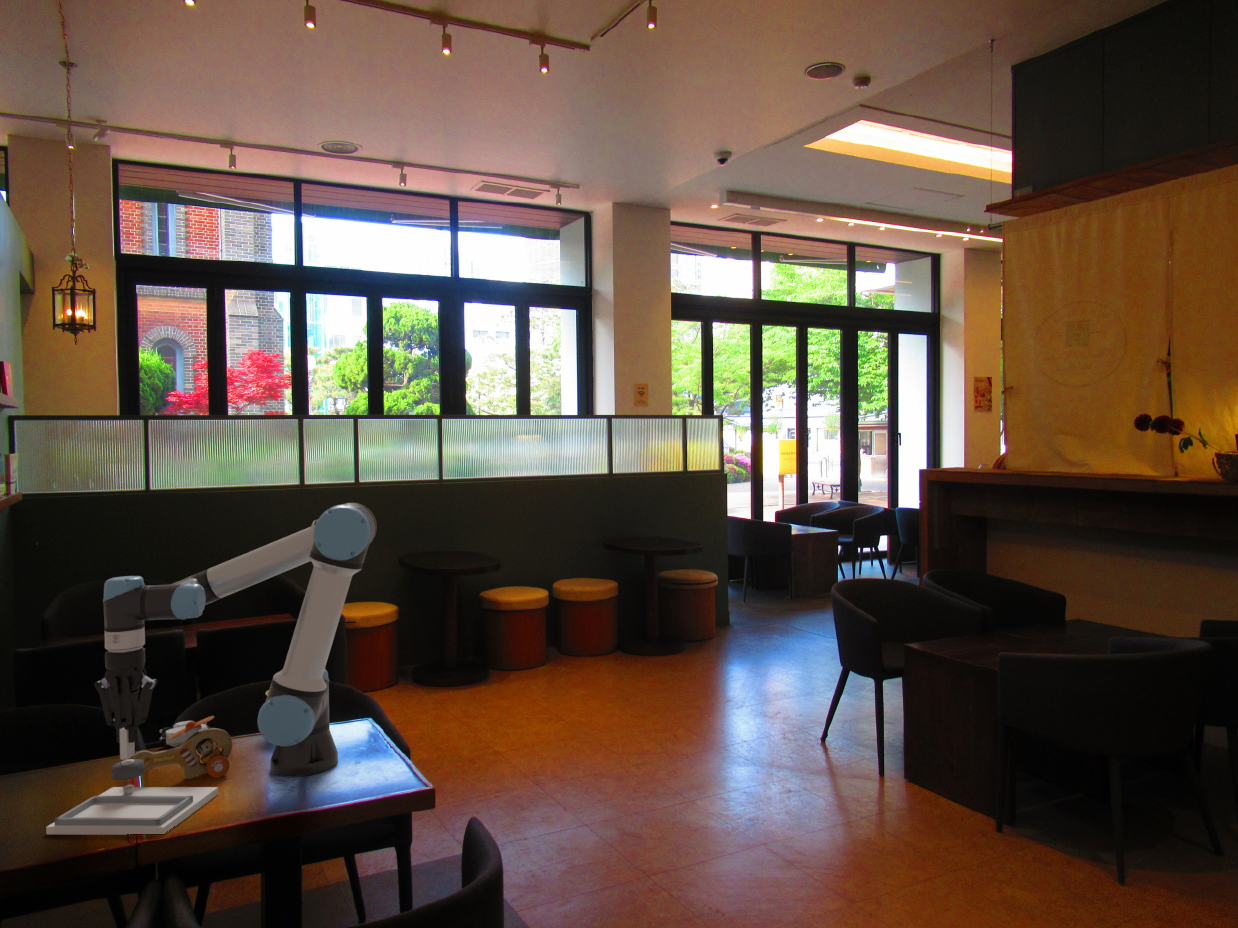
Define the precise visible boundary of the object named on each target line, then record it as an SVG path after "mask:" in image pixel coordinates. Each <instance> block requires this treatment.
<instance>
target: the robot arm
mask: <svg viewBox="0 0 1238 928" xmlns="http://www.w3.org/2000/svg"><path fill="white" fill-rule="evenodd" d="M377 529H378V526H377V520H376V518H375V515H374V513H373V512H372V510H370V508H368V507H366V506H365V505H363V504H360V503H358V502H345V503H342V504H338V505H337V504H336V505H333V506H331V507H329V508H328V509H326V510H325V511H324V512H323V513H322V514H321V515H320V516H319V518H318V519H315V520H313V522H312V524H311V526H309V527H307V528H305V529H301V530H299V531H297V532H295V533H292V534H290V535H287V536H285V537H282V538H280V539H278V540H274V541H272V542H270V543H268V544H266V545H263V546H260V547H258V548H256V549H253V550H250V551H248V552H247V553H243V554H242V555H238V556H236V557H234V558H231V559H230V560H226V561H224V562H221V563H220V564H217V565H214V566H212V567H209V568H208V569H205V570H202V571H200V572H198V573H196V574H193V575H190V576H187V577H185V578H183V579H181V580H179V581H175V582H173V583H171V584H157V585H147V584H145V582H144V581H145V580H144V578H143V577H142V576H140V575H127V576H126V575H125V576H116V577H115V576H114V577H112V578H109V579H107V580H106V581H105V582H104V584H103V585H104V586H103V599H102V603H103V617H104V649H106V650H107V651H106V652H105V653H104V667H105V669H106V671H105V674H104V677H103V678H102V679H101V680H97V681H96V682H94V683H93V686H94V688H95V689H96V690H97V693H98V694H99V699H100V703H101V707H102V710H103V711H102V712H103V714H104V719H105V721H106V725H107V726H108V727H110V726H112V727H115V730H116V731H115V734H116V737H115V738H116V743H117V744H119V760H129V759H130V758H132V757H133V756H134V755H135V754H136V753H135V750H136V749H135V742H137V741H138V737H139V736H138V729H139V728H138V727H139V726H140V725H141V724H142V725H143V724H144V723H146V722H147V720H148V715H149V712H150V706H151V702H152V697H153V691H154V689H155V687H156V685H157V684H158V679H157V678H150V677H149V676H147V671H146V669H145V664H146V648H144V647H143V646H144V645H145V644H146V634H145V633H146V631H145V621H155V620H156V621H157V620H187V619H193V618H194V619H195V618H199V617H200V616H202V615H203V611H205V607H206V605H209V604H211V603H214V602H216V601H218V600H220V599H223V598H225V597H227V596H229V595H232V594H235V593H237V592H239V591H242V590H245V589H247V588H250V587H251V586H254V585H256V584H259V583H261V582H263V581H266V580H268V579H270V578H273V577H275V576H278V575H281V574H282V573H285V572H287V571H290V570H292V569H294V568H297V567H299V566H301V565H304V564H306V563H309V562H311V563H312V566H313V568H312V572H311V575H310V578H309V581H308V584H307V589H306V591H305V594H304V595H305V596H304V598H303V601H302V605H301V608H300V611H299V615H298V618H297V621H296V625H295V628H294V630H293V635H292V638H291V642H290V645H289V649H288V652H287V654H286V658H285V661H284V665H283V668H282V669H281V670H280V671H277V672H276V673H275V674H274V675H273V677H272V680H271V683H270V686H269V689H268V690H269V692H268V696H266V699H265V702H264V703H263V704H262V705H261V706H260V708H259V712H258V714H257V715H258V716H257V728H258V731H259V733H260V734H261V736H262V737H263V738H264V739H265V740H266V741H267V742H269V743H270V744H271V745H272V744H273V745H274V747H273V751H272V754H271V758H270V761H269V764H270V765H269V766H270V768H269V769H270V772H271V773H272V774H273V775H275V776H279V777H284V778H285V777H287V778H294V777H295V778H296V777H305V776H310V775H316V774H319V773H322V772H325V771H328V770H330V769H331V768H332V769H333V767H335V766H336V765H337V764H338V762H339V753H338V749H337V747H336V743H335V741H334V738H333V736H332V733H331V730H330V700H329V699H330V696H329V695H330V692H329V691H330V689H329V683H330V679H329V672H328V671H327V669H326V665H327V662H328V659H329V656H330V653H331V649H332V646H333V642H334V640H335V636H336V632H337V628H338V626H339V623H340V619H341V615H342V612H343V609H344V605H345V602H346V598H347V595H348V592H349V588H350V585H351V581H352V579H353V576H354V575H355V574H357V573H359V572H360V571H362V569H363V566H364V562H365V559H366V556H367V552H368V549H369V546H370V544H371V543H372V542H373V540H374V538H375V537H376V535H377V534H376V533H377ZM140 686H141V688H142V689H141V691H140ZM139 694H140V695H139Z"/></svg>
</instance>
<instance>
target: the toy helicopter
mask: <svg viewBox="0 0 1238 928" xmlns="http://www.w3.org/2000/svg"><path fill="white" fill-rule="evenodd" d="M214 718H215V716H214V715H211V716H208V717H205V718H203V719H200V720H199V721H196V722H195V721H194V720H189V721H190V722H188V723H187V724H186V727H185V728H184V729H182V730H180V731H178V732H176V733H174V734H173V735H171V736H170V737H169V740H171V739H173V738H175V737H177V736H179V735H181V734H183V733H185V734H186V735H187V736H190V737H189V738H188V739H187V740H186V741H185V742H184V743H183V744H182V745H181V746H179V747H173V748H169V749H164V750H160V751H156V752H155V751H154V752H152V751H150V750H147V749H145V750H144V749H143V750H139V751H137V752H136V753H135V755H134V756H132V757H131V759H141V760H144V774H145V773H148V772H150V771H151V770H153V769H154V768H155V767H162V766H168V765H174V764H175V765H177V764H178V765H179V766H180V767H181V768H182V769H183V770H184V777H185V778H186V779H187V780H193V779H194V778H195V777H197V776H198V775H203V774H208V775H209V776H210V777H211V778H214V779H219V778H222V777H224V776H225V775H227V773H228V772H229V769H230V766H231V765H230V761H229V757H230V755H231V752H232V748H233V741H232V738H231V735H230V734H229V733H228V732H227V731H226V730H225V729H221V728H216V727H211V728H209V729H204V730H201V731H199V730H200V729H201V728H202V726H201V724H203V723H206V724H207V723H208V722H210V721H212V720H213V719H214ZM198 731H199V732H198ZM191 735H192V736H191ZM213 741H214V742H215V745H216V747H215V745H214V742H213Z"/></svg>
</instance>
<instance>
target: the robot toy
mask: <svg viewBox="0 0 1238 928" xmlns="http://www.w3.org/2000/svg"><path fill="white" fill-rule="evenodd" d="M190 721H191V720H185V721H179V722H177V723H174V725H173V727H167V726H165V727H163V728H162V729H159V733H160V734H162V735H161V736H160V737H159V741H161V742H163V744H166V745H168V746H170V747H173V748H177V747H178V746H179V747H180V746H181V745H182V744H183V743H184V742H185V741H186V740H187V739H188V738H189V737H190V736H187V735H186V734H185V733H183V734H181V735H179V736H177V737H175V738H173V739H171V740H169V737H170V736H171V735H173V734H174V733H176V732H178V731H180V730H182V729H184V728H185V727H186V724H187V723H188V722H190ZM201 726H202V728H201V729H200V730H199V731H201V730H204V729H209V728H212V727H210V726H209V725H208V724H207V722H206V723H203V724H201ZM199 731H198V732H199ZM191 736H192V735H191Z"/></svg>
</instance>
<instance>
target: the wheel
mask: <svg viewBox="0 0 1238 928" xmlns="http://www.w3.org/2000/svg"><path fill="white" fill-rule="evenodd" d="M144 774H145V773H144V760H141V759H132V758H131V759H130V758H129V759H124V760H122V761H118V762H115V763H114V764H113V765H112V766H111V776H112V777H111V779H112V780H115V781H127V780H132V779H136V778H139V777H141V776H143V775H144Z"/></svg>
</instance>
